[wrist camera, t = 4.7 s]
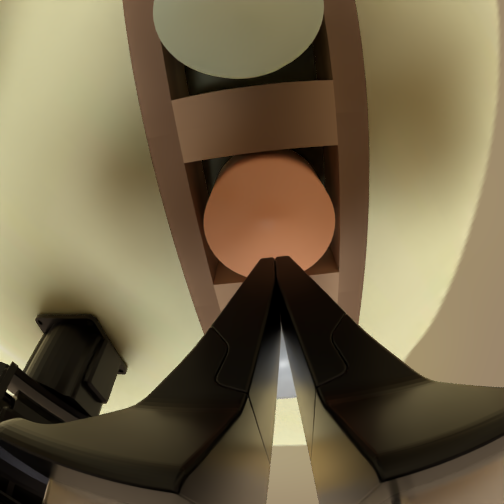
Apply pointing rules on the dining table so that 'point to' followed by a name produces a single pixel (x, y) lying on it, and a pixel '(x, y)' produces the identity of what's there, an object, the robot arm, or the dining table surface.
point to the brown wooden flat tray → (258, 148)
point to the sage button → (237, 33)
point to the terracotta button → (268, 211)
